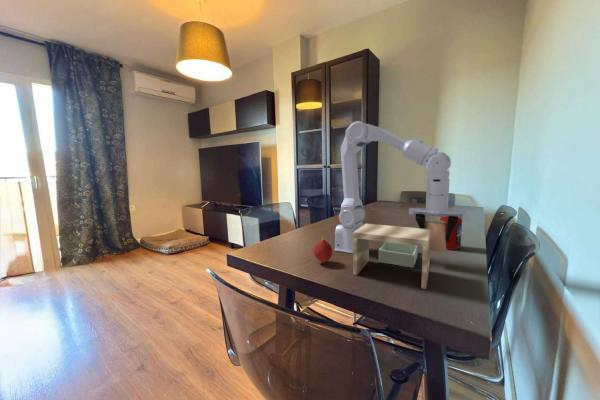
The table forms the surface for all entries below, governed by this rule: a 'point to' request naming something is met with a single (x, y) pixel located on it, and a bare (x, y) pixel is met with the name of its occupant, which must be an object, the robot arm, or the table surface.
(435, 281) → the table surface
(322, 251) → the onion
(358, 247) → the shelf
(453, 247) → the beverage can
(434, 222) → the pink-tan solid cylinder
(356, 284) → the table surface
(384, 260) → the tray
